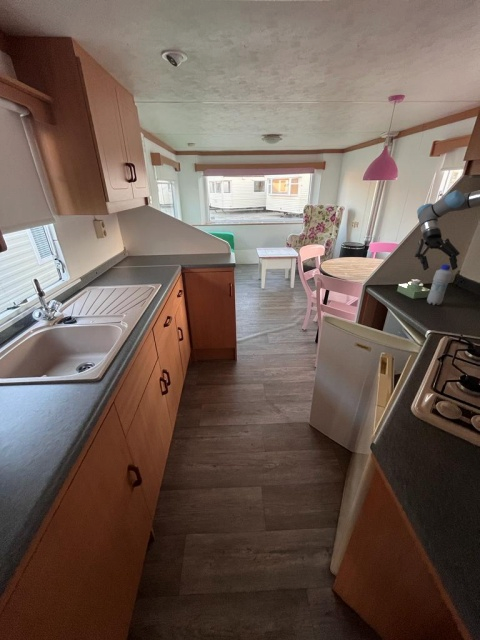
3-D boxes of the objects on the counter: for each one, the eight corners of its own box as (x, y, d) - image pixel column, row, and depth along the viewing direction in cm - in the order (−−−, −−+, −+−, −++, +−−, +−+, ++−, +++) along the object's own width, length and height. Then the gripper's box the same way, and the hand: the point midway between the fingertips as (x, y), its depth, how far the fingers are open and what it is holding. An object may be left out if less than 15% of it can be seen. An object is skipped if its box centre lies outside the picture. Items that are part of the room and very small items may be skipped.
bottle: (425, 300, 138) (437, 262, 129) (441, 302, 135) (454, 263, 126) (425, 304, 133) (438, 265, 124) (441, 307, 130) (455, 267, 121)
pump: (421, 285, 142) (422, 281, 141) (414, 285, 142) (416, 281, 141) (415, 283, 146) (416, 278, 145) (409, 283, 145) (410, 279, 144)
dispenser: (429, 297, 142) (432, 286, 139) (412, 298, 140) (416, 288, 137) (412, 289, 152) (415, 279, 150) (396, 291, 151) (399, 281, 148)
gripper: (450, 236, 139) (461, 272, 132) (402, 236, 140) (410, 272, 133) (461, 226, 132) (473, 264, 125) (410, 227, 133) (419, 265, 126)
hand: (440, 268), depth 129 cm, fingers open, 13 cm apart
